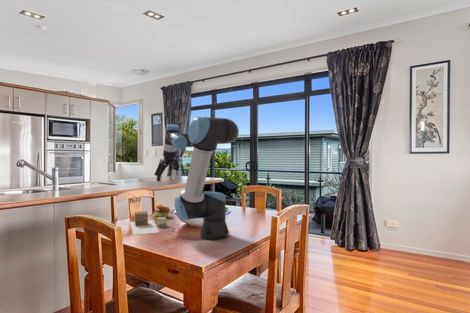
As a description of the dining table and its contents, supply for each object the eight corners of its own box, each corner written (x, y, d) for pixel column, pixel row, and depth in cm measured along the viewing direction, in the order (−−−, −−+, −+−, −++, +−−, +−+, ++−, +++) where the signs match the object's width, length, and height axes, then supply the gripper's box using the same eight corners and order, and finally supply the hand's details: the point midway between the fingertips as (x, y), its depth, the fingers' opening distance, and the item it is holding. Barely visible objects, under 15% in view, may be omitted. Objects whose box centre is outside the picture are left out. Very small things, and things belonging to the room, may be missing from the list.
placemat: (159, 232, 164) (159, 232, 164) (132, 235, 159) (132, 234, 159) (153, 220, 194) (153, 220, 194) (130, 222, 188) (130, 222, 188)
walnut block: (147, 225, 180) (147, 213, 180) (135, 226, 178) (135, 214, 178) (146, 222, 187) (146, 211, 187) (134, 223, 184) (134, 212, 184)
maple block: (166, 226, 177) (167, 218, 177) (158, 227, 174) (158, 219, 174) (163, 225, 181) (163, 216, 181) (155, 225, 178) (155, 217, 179)
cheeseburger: (149, 217, 202) (152, 203, 204) (163, 219, 209) (165, 205, 211) (156, 220, 194) (159, 204, 196) (170, 221, 201) (173, 206, 203)
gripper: (178, 144, 190) (174, 175, 197) (150, 152, 168) (147, 186, 175) (187, 148, 187) (183, 178, 194) (160, 156, 165) (156, 190, 172)
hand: (166, 182), depth 184 cm, fingers open, 13 cm apart
